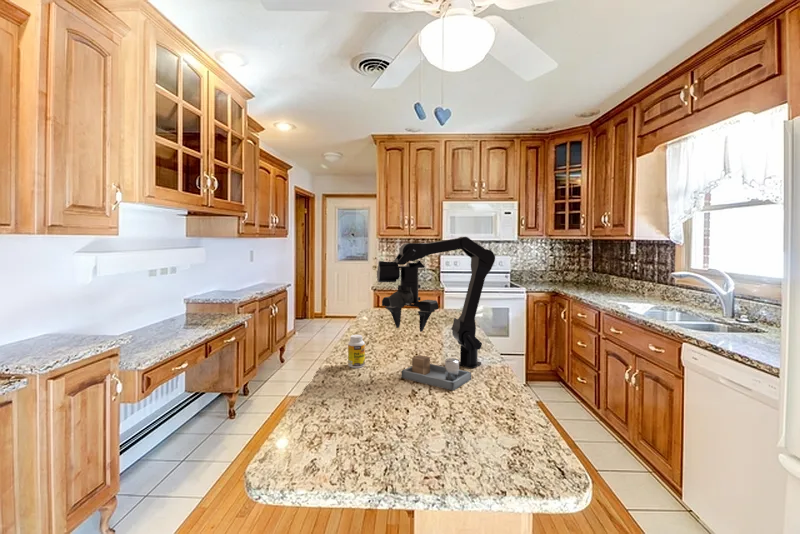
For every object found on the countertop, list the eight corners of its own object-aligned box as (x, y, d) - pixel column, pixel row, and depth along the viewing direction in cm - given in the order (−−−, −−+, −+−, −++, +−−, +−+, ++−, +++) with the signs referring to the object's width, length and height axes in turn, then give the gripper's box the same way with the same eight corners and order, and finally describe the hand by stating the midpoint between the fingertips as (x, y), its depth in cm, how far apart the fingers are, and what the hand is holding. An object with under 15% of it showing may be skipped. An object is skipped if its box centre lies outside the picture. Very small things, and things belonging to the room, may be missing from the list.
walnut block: (419, 370, 127) (419, 354, 127) (429, 372, 125) (429, 356, 124) (412, 373, 124) (412, 357, 124) (422, 376, 122) (422, 360, 121)
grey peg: (450, 376, 121) (450, 357, 120) (461, 379, 118) (461, 360, 118) (442, 380, 118) (442, 360, 117) (454, 383, 115) (454, 363, 115)
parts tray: (421, 368, 131) (421, 361, 131) (471, 379, 120) (471, 372, 120) (401, 377, 122) (401, 370, 122) (453, 390, 111) (453, 382, 111)
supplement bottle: (352, 369, 130) (352, 338, 129) (345, 365, 134) (345, 335, 134) (367, 366, 133) (367, 336, 132) (360, 362, 138) (359, 333, 137)
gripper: (371, 282, 127) (371, 330, 128) (420, 286, 116) (420, 338, 118) (392, 279, 136) (392, 324, 137) (439, 282, 126) (439, 331, 127)
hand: (409, 329), depth 130 cm, fingers open, 9 cm apart
